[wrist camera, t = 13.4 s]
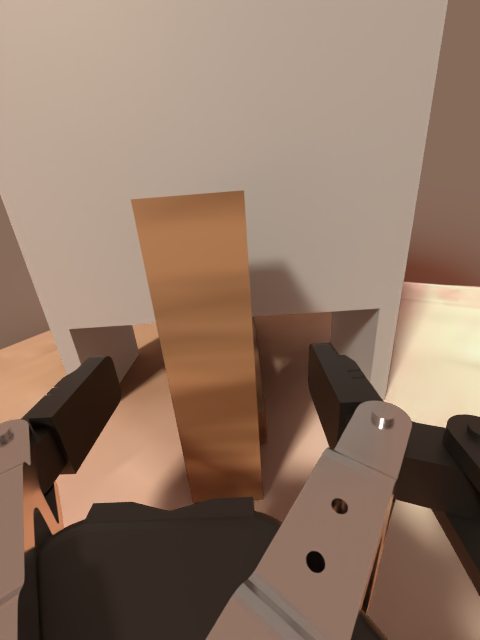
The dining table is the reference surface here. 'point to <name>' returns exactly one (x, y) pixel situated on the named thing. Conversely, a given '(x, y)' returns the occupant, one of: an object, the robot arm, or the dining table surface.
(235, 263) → the upright wooden plank
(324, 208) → the cabinet
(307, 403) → the dining table surface
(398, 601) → the dining table surface
